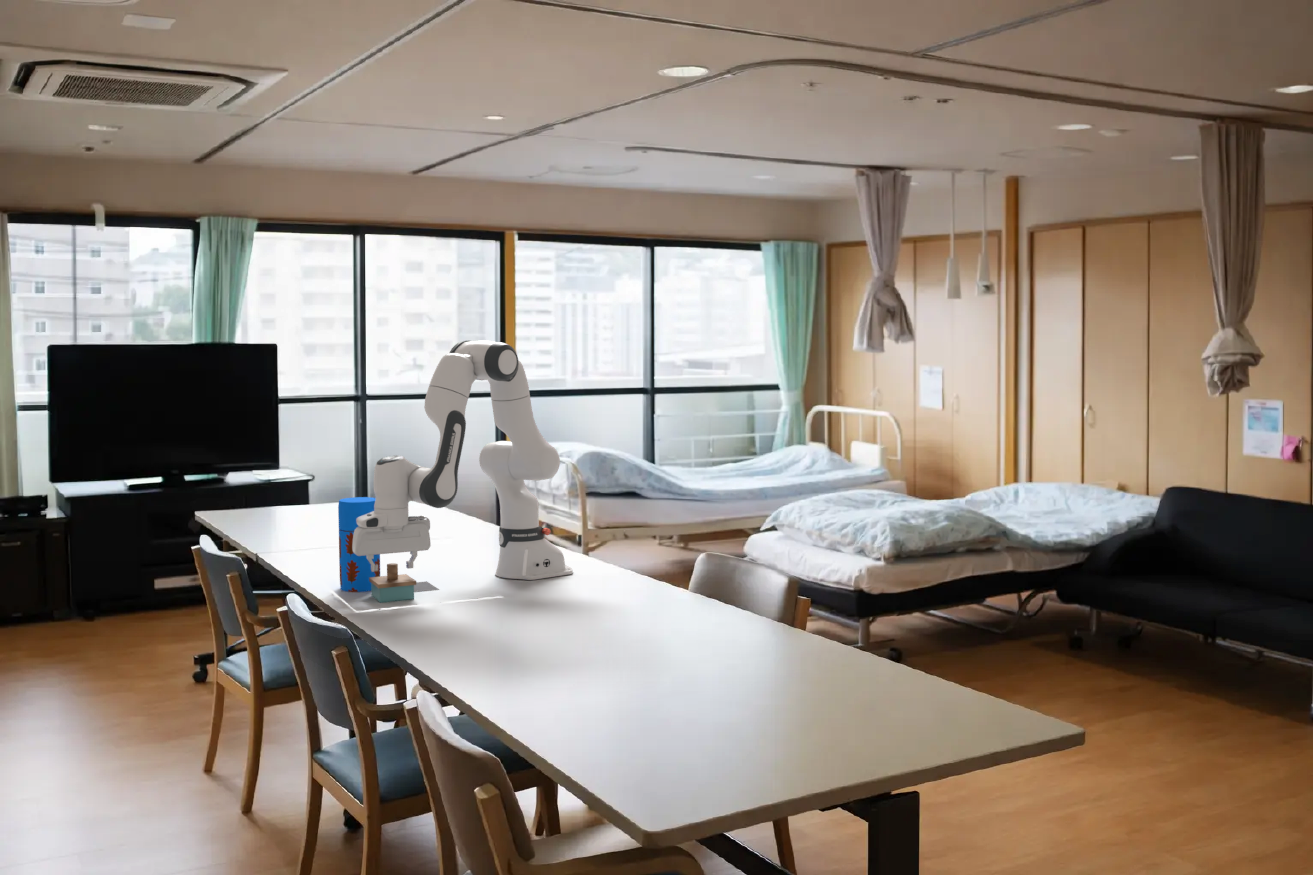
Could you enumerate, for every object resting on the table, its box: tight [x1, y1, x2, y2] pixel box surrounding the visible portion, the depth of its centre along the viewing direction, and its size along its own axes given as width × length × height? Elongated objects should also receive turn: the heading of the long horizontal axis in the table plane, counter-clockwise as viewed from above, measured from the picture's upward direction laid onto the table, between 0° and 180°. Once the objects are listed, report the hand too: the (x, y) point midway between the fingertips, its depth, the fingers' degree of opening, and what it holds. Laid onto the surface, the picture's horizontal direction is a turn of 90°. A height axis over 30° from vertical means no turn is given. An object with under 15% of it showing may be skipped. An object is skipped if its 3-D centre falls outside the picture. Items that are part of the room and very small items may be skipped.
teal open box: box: [370, 583, 415, 604], centre depth 316 cm, size 9×9×4 cm
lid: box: [369, 562, 417, 588], centre depth 316 cm, size 10×10×5 cm
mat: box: [414, 581, 440, 593], centre depth 329 cm, size 12×12×1 cm
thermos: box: [337, 496, 381, 593], centre depth 327 cm, size 11×11×25 cm
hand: (392, 569), depth 316 cm, fingers open, 8 cm apart
